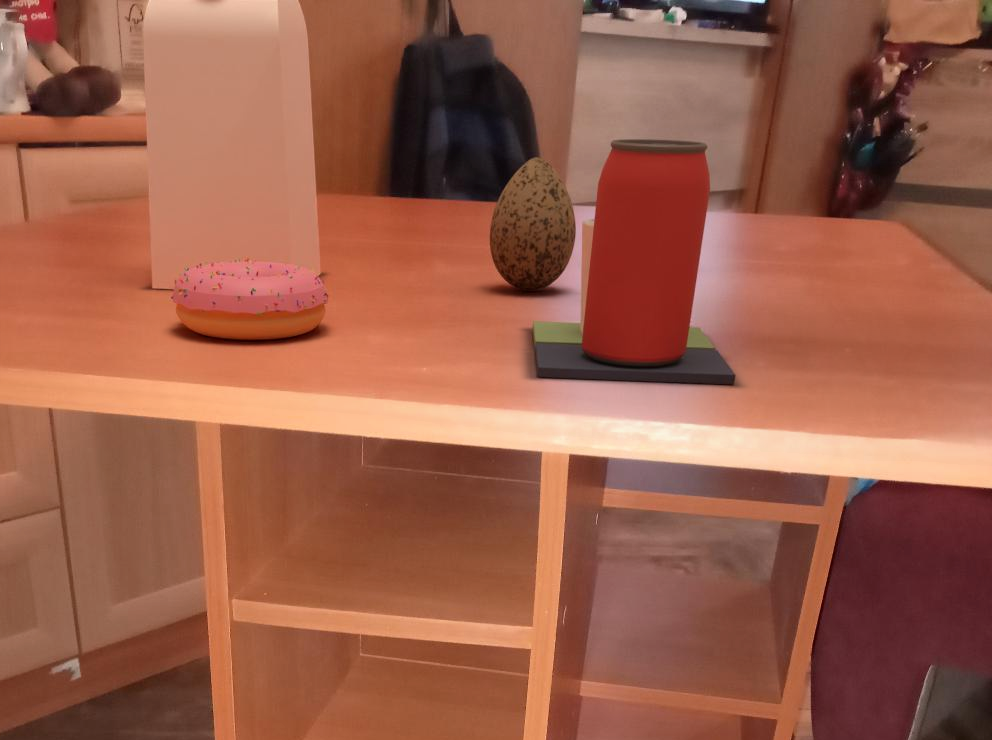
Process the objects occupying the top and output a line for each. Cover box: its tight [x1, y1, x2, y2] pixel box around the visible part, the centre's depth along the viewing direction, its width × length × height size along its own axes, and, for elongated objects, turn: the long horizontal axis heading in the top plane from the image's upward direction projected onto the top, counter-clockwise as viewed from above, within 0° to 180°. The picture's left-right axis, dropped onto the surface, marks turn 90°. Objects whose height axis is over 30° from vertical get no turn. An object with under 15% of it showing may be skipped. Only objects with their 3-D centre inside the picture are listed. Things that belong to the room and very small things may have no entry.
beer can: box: [582, 138, 711, 367], centre depth 70 cm, size 7×7×12 cm
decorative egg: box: [489, 156, 577, 292], centre depth 96 cm, size 7×7×10 cm
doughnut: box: [170, 258, 330, 341], centre depth 81 cm, size 11×11×4 cm
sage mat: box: [532, 320, 716, 350], centre depth 80 cm, size 12×7×1 cm, turn 85°
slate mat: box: [534, 344, 736, 385], centre depth 73 cm, size 12×7×1 cm, turn 85°
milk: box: [142, 0, 322, 290], centre depth 93 cm, size 12×12×26 cm
